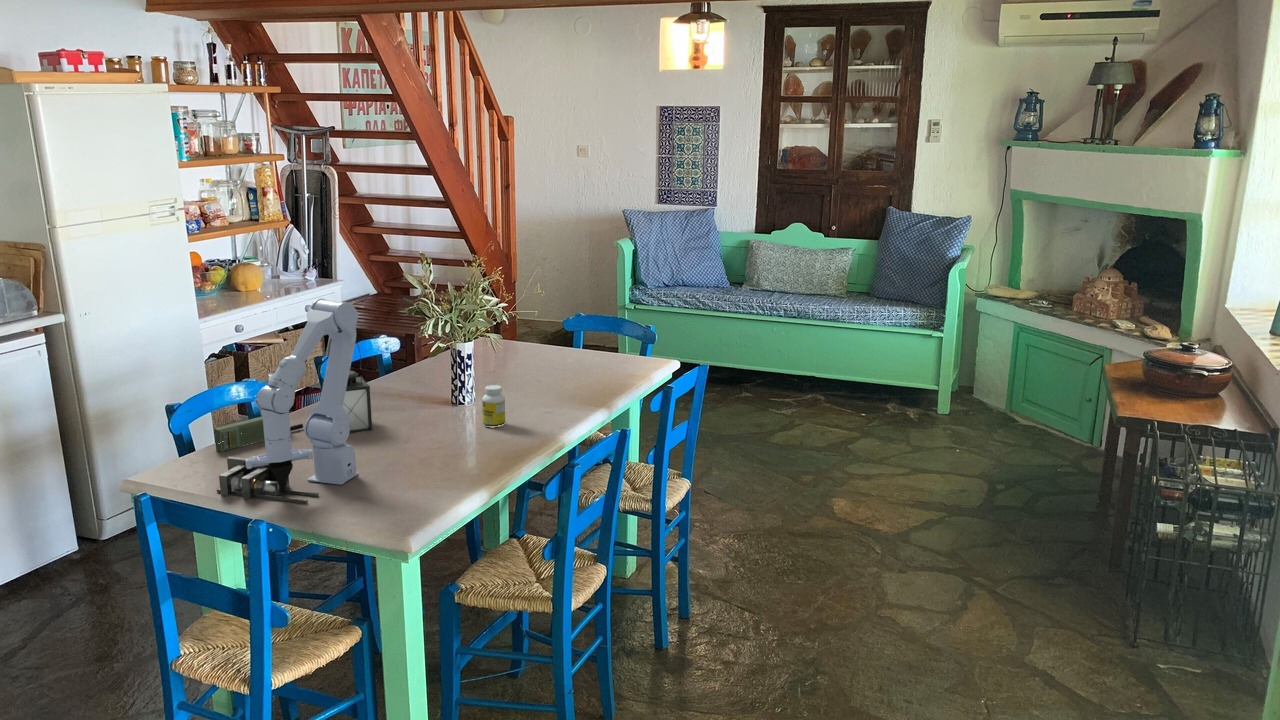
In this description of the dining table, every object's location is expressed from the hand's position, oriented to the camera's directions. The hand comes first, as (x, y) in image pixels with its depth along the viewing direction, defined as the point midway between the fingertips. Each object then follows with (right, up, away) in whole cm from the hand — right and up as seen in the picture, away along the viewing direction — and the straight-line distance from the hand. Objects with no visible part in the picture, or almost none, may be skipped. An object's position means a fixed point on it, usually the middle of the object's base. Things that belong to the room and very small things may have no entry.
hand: (282, 491), depth 220 cm
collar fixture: (-5, 0, +3) cm, 6 cm away
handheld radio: (-21, +8, +39) cm, 45 cm away
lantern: (0, +11, +51) cm, 52 cm away
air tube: (-7, 0, +3) cm, 8 cm away
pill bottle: (+41, +12, +54) cm, 69 cm away
